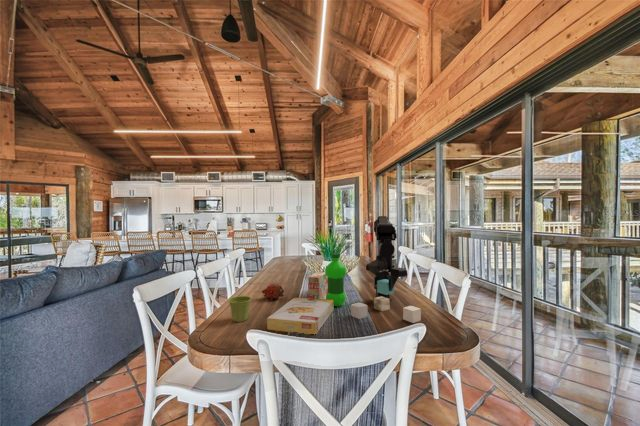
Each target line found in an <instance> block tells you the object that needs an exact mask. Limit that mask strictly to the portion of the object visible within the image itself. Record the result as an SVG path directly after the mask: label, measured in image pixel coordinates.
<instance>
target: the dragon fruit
mask: <svg viewBox="0 0 640 426" xmlns="http://www.w3.org/2000/svg"><path fill="white" fill-rule="evenodd" d="M284 292H285V290H284V288H283V287H282V286H281V285H279V284H278V283H275V284H273V283H270V284H269V285H267V287H266V288H263V289H262V290H261V294H263V297H264V298H266V299H269V300H271V301H273V300H279V298H281V297H283V296H284Z"/></svg>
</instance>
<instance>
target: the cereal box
mask: <svg viewBox="0 0 640 426" xmlns="http://www.w3.org/2000/svg"><path fill="white" fill-rule="evenodd" d="M334 310H335V308H334V303H333V300H330V299H326V298H322V299H310V298H308V297H293V298H292V299H290V300H289V301H288V302H286V303H285V304H284V305H283V306H280V308H279V309H277V310H276V311H275V312H274V313H272V314H271V315H269V316H268V317H267V318H266V327H267V328H266V329H267V330H270V331H278V332H284V333H285V332H286V333H293V332H298V333H297V334H302V333H304V335H310V334H314V335H313V336H315V334H316V335H317V334H318V332H319V331H320V330H321V328H322V326H323V325H324V324H325V323H326V321H327V320H328V319H329V317H330V316H331V314H332V313H333V312H334Z"/></svg>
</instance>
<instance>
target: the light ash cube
mask: <svg viewBox="0 0 640 426" xmlns="http://www.w3.org/2000/svg"><path fill="white" fill-rule="evenodd" d="M390 299H391V298H390ZM390 299H388V298H385V297H382V296H381V297H376V296H375V297H374V298H373V308H374V309H375V310H377V311H379V312H385V311H388V310H390V307H391V306H390V303H391V301H390Z"/></svg>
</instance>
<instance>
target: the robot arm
mask: <svg viewBox="0 0 640 426" xmlns="http://www.w3.org/2000/svg"><path fill="white" fill-rule="evenodd" d="M373 233H374V236H375V238H376V241H377V247H378V248H377V254H378V255H376V257H375V259H374V260H372V261H371V262H369V263H367V264H366V265H365V270H366V271H368V272H370V273H371V274H372V275H374V277H373V288H374V290H375V298H376V297H381V296H382V297H385V298H388V299H390V302H391V301H392V299H391V298H390V296H391V294H388V295H385V294H381V293H378V292H377V281H378V280H383V279H387V280H389V291H392V289H393V287H394V288H395V285H396V283H397V281H398V280H399V278H402V277H406V276H408V270H407V269H406V268H404V267H395V265H394V264H393V259H395V255H394V254H395V250H396V249H395V245H394V244H393V242H392V241H397V240H396V239H397V229H396V227H395V226H394V224H393V223H391V221H390V220H389V217H388V216H386V215H382V216H381V215H378V216H377V219H376V220H375V221H373Z"/></svg>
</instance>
